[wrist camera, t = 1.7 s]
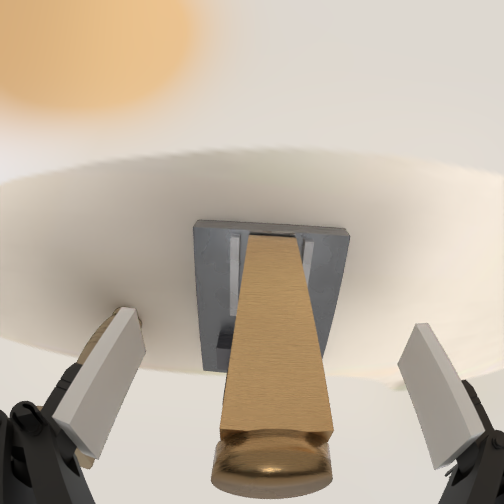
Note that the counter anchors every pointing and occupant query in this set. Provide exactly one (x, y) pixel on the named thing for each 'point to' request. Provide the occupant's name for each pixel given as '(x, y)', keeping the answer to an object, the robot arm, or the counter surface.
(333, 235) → the slotted metal plate
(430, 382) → the robot arm
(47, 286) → the counter surface
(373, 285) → the counter surface
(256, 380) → the lever
